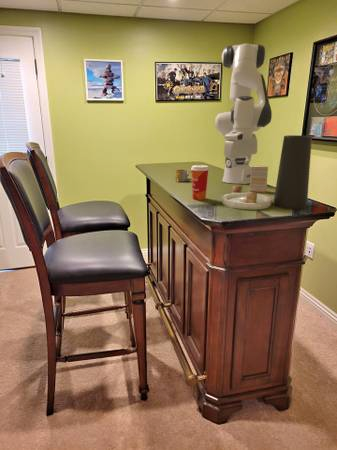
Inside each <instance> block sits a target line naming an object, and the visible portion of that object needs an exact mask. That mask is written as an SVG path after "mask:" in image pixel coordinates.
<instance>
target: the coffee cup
mask: <svg viewBox="0 0 337 450" xmlns="http://www.w3.org/2000/svg"><path fill="white" fill-rule="evenodd" d="M209 170H210V169H209V165H205V164H204V165H203V164H200V165H199V164H198V165H192V166H191V169H190V171H192V172H191V178H192V180H191V192H192V199H193V200H194V201H203V200H206V199H207V198H206V197H207V196H206V195H207V186H208V176H209Z"/></svg>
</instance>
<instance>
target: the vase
mask: <svg viewBox="0 0 337 450" xmlns="http://www.w3.org/2000/svg"><path fill="white" fill-rule="evenodd" d="M312 139H313V137H312V136H311V135H291V134H290V135H284V136H283V141H282V146H281V147H282V149H281V154H280V159H279V160H280V161H279V165H278V172H277V178H276V184H275V189H274V198H273V201H272V204H273V206H274V207H276V208H280V209H285V210H304V209H306V208H308V207H307V206H308V198H309V197H308V195H309V184H310V183H309V181H310V169H311V167H310V166H311V157H312V156H311V154H312V142H313V141H312Z"/></svg>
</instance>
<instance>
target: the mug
mask: <svg viewBox="0 0 337 450" xmlns="http://www.w3.org/2000/svg"><path fill="white" fill-rule="evenodd" d="M190 173H192V170H190V171H188V170H187V169H177V170H175V173H174V174H175V175H174V179H175V182H177V183H183V182H184V183H185V182H188V181H189V182H190V181H192V177H190V178H189V176H190Z"/></svg>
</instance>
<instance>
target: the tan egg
mask: <svg viewBox="0 0 337 450" xmlns="http://www.w3.org/2000/svg"><path fill="white" fill-rule="evenodd" d="M246 193H247V196H246V203H256V200H257V194H258V192H250V191H248V192H247V191H246Z"/></svg>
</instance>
